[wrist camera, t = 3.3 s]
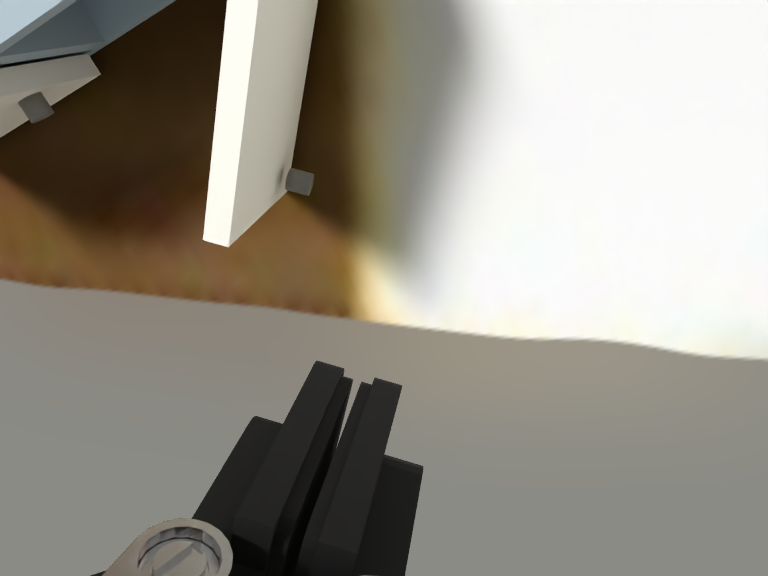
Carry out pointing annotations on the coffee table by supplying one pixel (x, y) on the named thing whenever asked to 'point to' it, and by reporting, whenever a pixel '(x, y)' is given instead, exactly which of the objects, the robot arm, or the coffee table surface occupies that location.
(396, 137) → the coffee table surface
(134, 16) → the cabinet
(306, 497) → the robot arm
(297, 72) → the left door
